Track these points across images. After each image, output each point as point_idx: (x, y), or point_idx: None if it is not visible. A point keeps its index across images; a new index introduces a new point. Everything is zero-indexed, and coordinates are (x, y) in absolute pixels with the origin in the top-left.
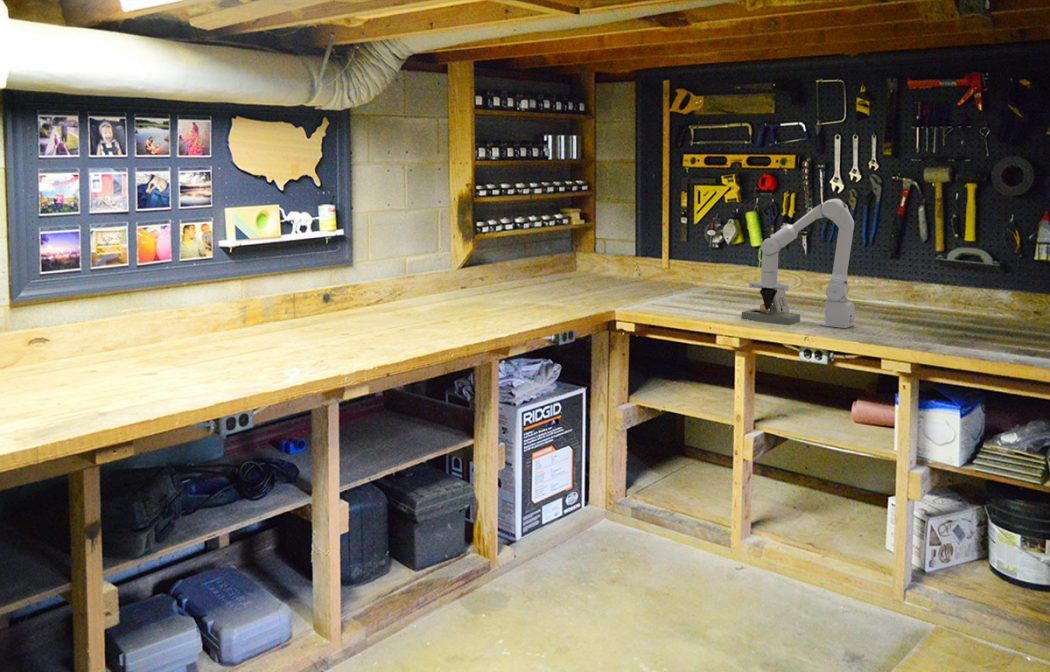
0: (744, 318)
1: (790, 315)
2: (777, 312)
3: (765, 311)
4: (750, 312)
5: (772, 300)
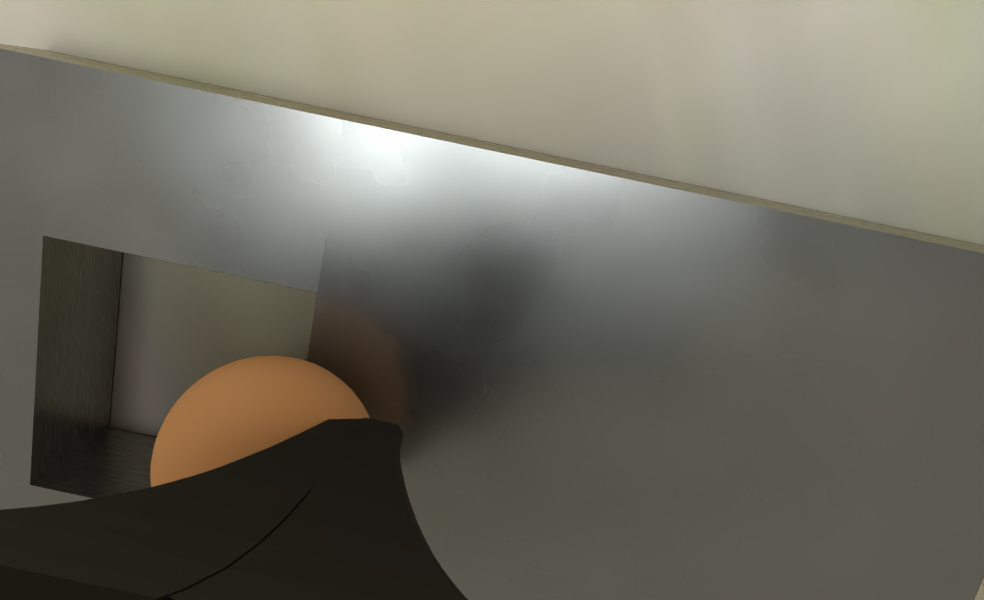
0: None
1: (902, 550)
2: (566, 308)
3: None
4: None
5: (412, 515)
